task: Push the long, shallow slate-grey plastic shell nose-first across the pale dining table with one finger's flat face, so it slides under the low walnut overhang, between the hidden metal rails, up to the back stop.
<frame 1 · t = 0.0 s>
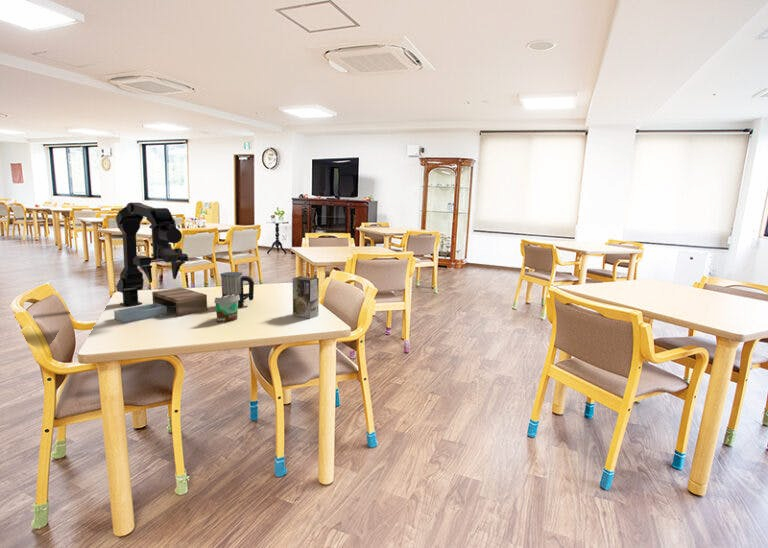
hand: (162, 280, 165), 15 cm above the table, tool pointing down, fingers open, 9 cm apart
walnut overhang: (179, 301, 179), on the table
slate shell: (141, 317, 166), on the table
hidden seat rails: (182, 307, 180), in the walnut overhang
food container: (231, 320, 168), on the table
milk frother: (236, 304, 191), on the table
coffee box: (305, 315, 177), on the table
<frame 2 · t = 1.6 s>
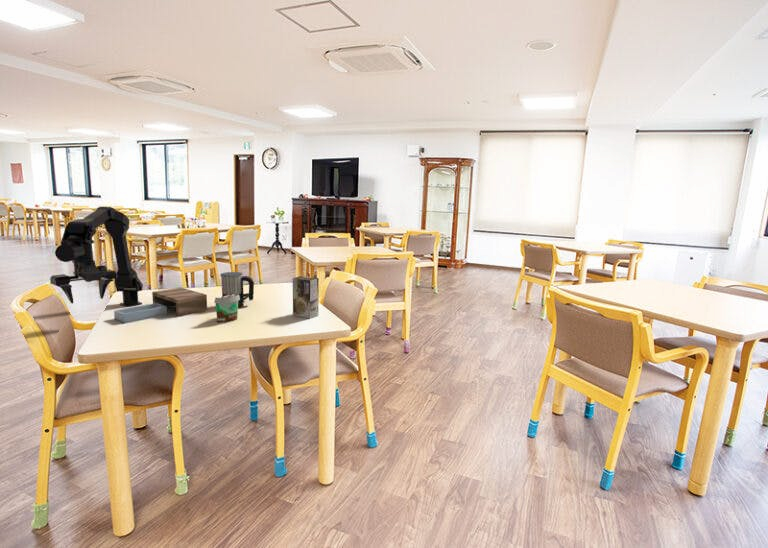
hand: (87, 300, 150), 10 cm above the table, tool pointing down, fingers open, 9 cm apart
nothing on the table moved.
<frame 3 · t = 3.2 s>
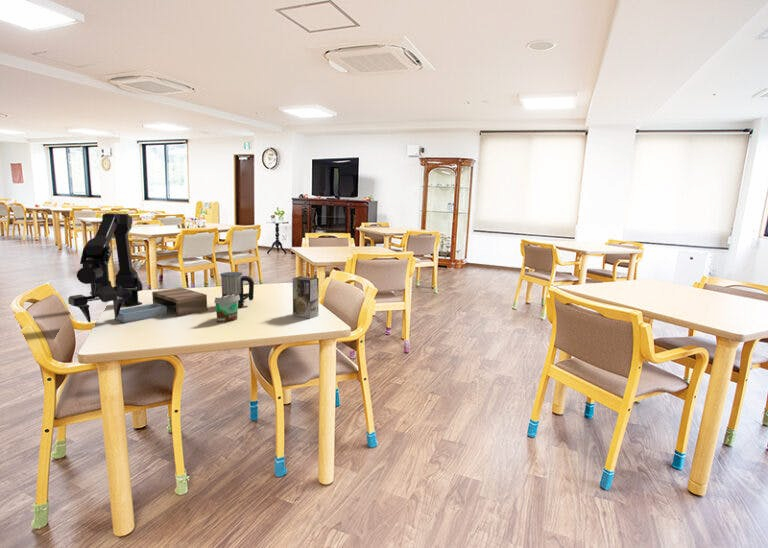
hand: (103, 319, 155), 2 cm above the table, tool pointing down, fingers open, 8 cm apart
slate shell: (141, 317, 166), on the table, touching gripper
everything else where it was.
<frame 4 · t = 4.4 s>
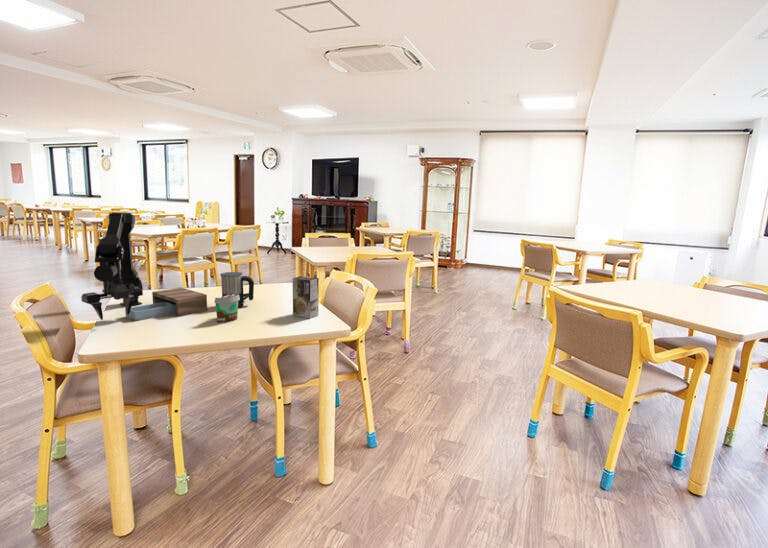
hand: (114, 317, 158), 2 cm above the table, tool pointing down, fingers open, 9 cm apart
slate shell: (151, 315, 169), on the table, touching gripper
everything else where it was.
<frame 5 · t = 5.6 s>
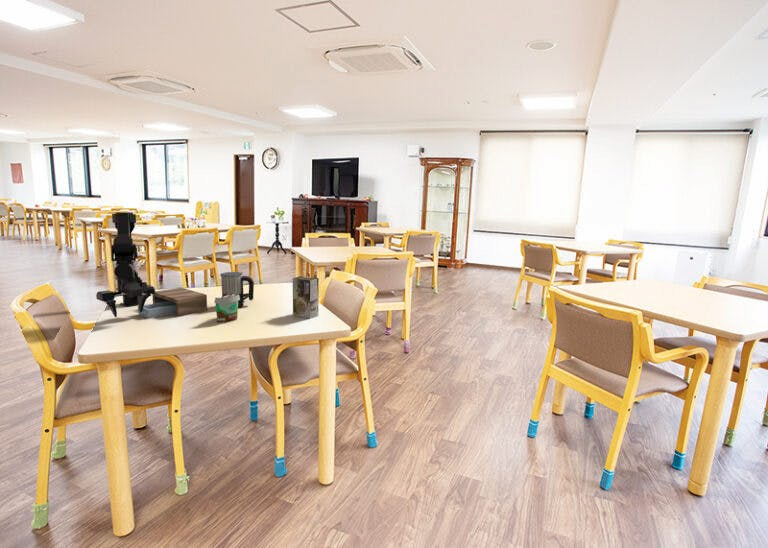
hand: (128, 314, 162), 2 cm above the table, tool pointing down, fingers open, 9 cm apart
slate shell: (163, 312, 173), on the table, touching gripper
everything else where it was.
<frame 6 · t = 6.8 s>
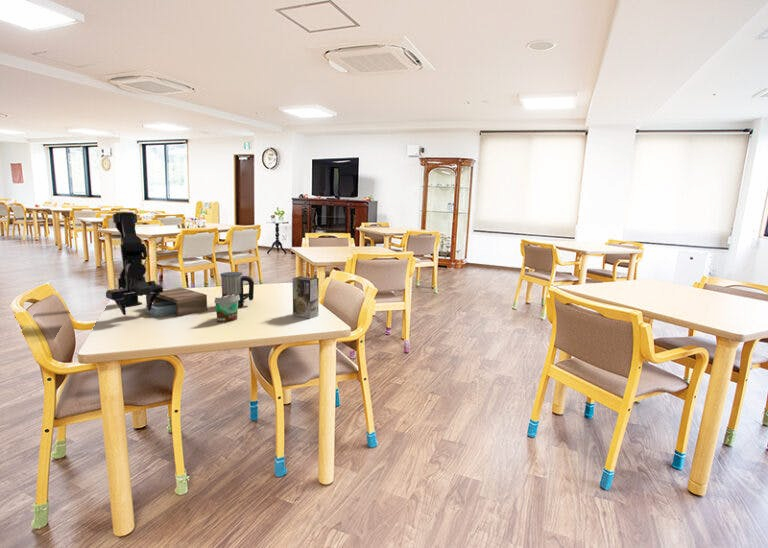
hand: (136, 312, 165), 2 cm above the table, tool pointing down, fingers open, 9 cm apart
slate shell: (171, 311, 176), on the table, touching gripper
everything else where it was.
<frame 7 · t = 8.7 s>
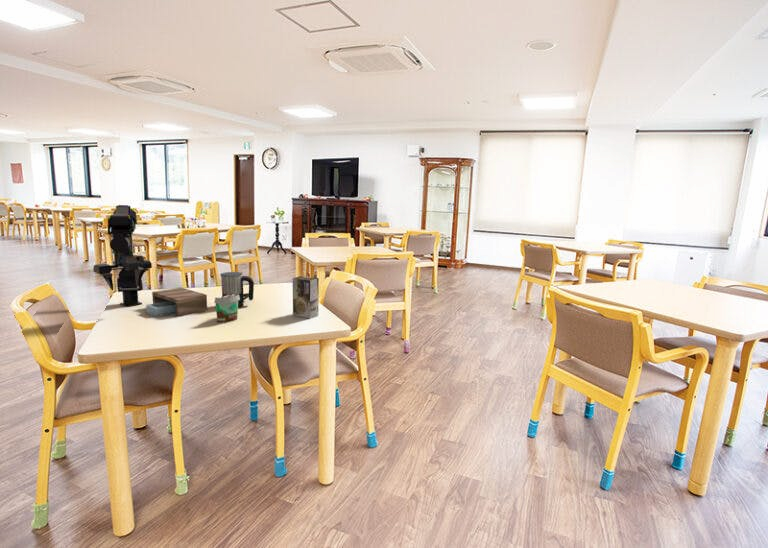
hand: (125, 288, 164), 12 cm above the table, tool pointing down, fingers open, 9 cm apart
slate shell: (171, 311, 176), on the table
everything else where it was.
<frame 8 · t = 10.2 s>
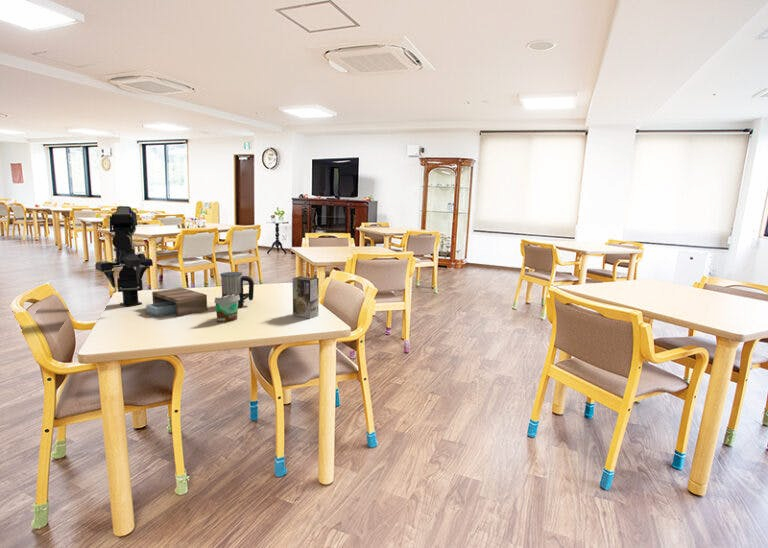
hand: (126, 285, 166), 12 cm above the table, tool pointing down, fingers open, 9 cm apart
nothing on the table moved.
at the end: slate shell 0.4 cm from the target spot, on the table; slate shell tilted 0° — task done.
